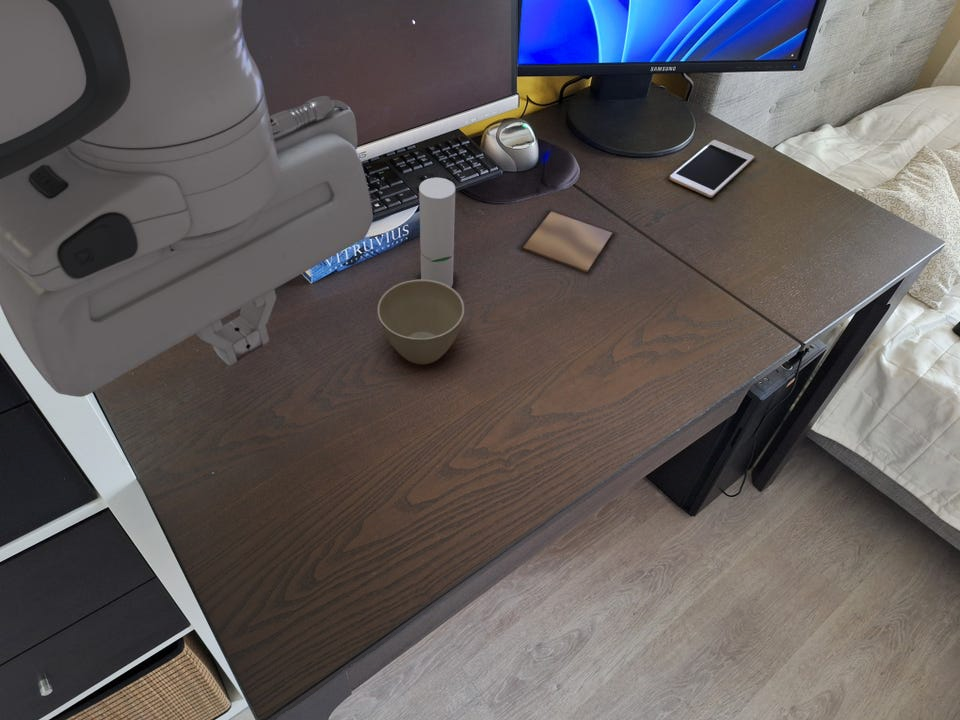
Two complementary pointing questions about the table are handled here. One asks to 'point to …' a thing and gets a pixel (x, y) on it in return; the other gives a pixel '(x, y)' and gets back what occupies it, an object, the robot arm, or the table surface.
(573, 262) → the shiny brown rectangular coaster
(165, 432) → the table surface
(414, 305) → the flower pot
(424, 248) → the tube
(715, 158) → the cell phone
